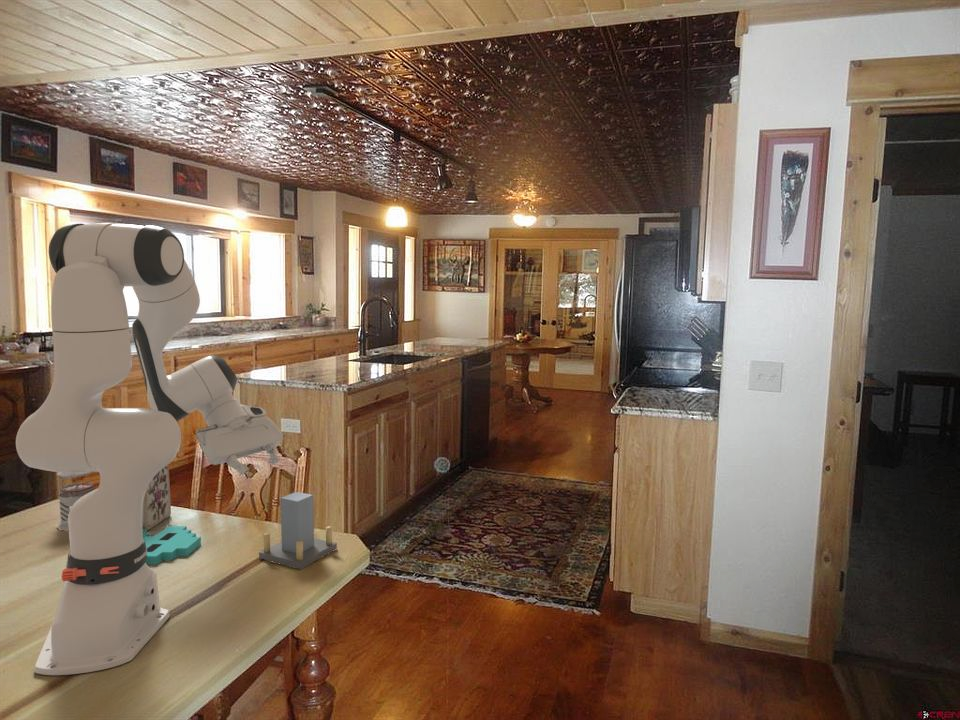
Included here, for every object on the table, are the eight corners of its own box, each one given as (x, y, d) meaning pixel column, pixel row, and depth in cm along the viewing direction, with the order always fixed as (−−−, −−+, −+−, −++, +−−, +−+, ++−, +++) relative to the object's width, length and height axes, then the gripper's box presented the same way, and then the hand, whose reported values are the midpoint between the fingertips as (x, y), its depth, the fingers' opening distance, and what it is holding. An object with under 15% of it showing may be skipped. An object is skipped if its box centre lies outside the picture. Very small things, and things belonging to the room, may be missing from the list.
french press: (67, 533, 153) (60, 433, 150) (45, 524, 159) (38, 427, 156) (109, 521, 161) (103, 426, 158) (86, 513, 167) (81, 421, 165)
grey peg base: (336, 549, 145) (336, 526, 144) (300, 569, 134) (299, 544, 133) (297, 540, 150) (296, 517, 149) (259, 558, 139) (258, 534, 139)
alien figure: (80, 569, 134) (171, 570, 134) (79, 559, 134) (171, 560, 134) (133, 534, 154) (213, 535, 154) (133, 525, 154) (213, 526, 153)
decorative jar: (147, 532, 154) (143, 461, 152) (101, 531, 155) (97, 460, 153) (172, 515, 166) (169, 449, 164) (129, 514, 167) (126, 448, 165)
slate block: (298, 553, 138) (297, 501, 137) (281, 549, 141) (280, 497, 139) (314, 545, 143) (313, 494, 142) (297, 541, 145) (296, 491, 144)
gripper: (198, 421, 138) (231, 470, 134) (268, 407, 156) (299, 449, 152) (185, 439, 140) (217, 487, 137) (255, 422, 158) (285, 465, 155)
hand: (261, 467), depth 145 cm, fingers open, 8 cm apart
